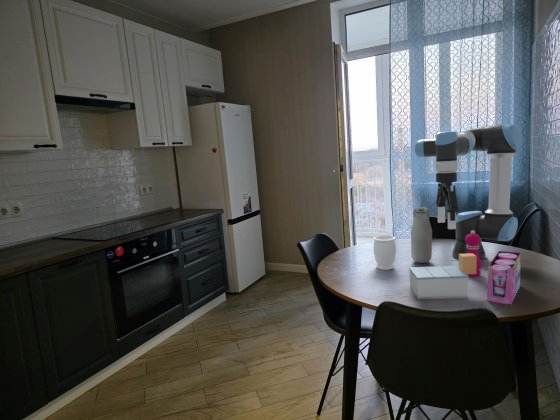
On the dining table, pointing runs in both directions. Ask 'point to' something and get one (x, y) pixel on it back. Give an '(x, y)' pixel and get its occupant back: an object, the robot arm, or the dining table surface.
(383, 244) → the jar
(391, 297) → the dining table surface
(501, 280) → the gum box
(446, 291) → the cabinet body
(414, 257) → the grey rounded cylinder
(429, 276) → the lid
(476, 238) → the pepper mill
